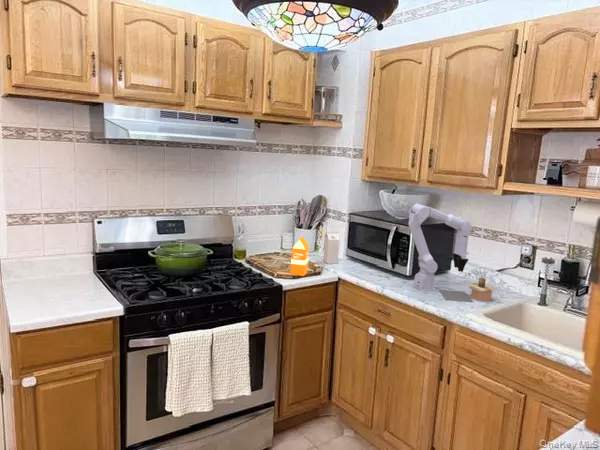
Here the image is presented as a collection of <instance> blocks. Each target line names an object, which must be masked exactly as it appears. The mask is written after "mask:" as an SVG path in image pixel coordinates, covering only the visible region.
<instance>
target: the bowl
mask: <svg viewBox="0 0 600 450" xmlns="http://www.w3.org/2000/svg"><path fill="white" fill-rule="evenodd" d="M470 296H471V297H470V298H472V299H473V300H477V301H481V302H490V301H491V300H492V296H493V292H479V291H475V290H472V289H471V293H470Z"/></svg>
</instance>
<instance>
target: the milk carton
mask: <svg viewBox="0 0 600 450" xmlns="http://www.w3.org/2000/svg"><path fill="white" fill-rule="evenodd" d="M340 240H341V239H340V236H339V232H338V231H327V232H326V234H325V236H324V247H323V262H324V263H326V264H329V265H330V264H331V265H333V264H334V265H336V264H337V265H338V264H339V255H340V254H339V253H340V252H339V251H340Z"/></svg>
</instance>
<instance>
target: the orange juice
mask: <svg viewBox="0 0 600 450" xmlns="http://www.w3.org/2000/svg"><path fill="white" fill-rule="evenodd" d="M309 253H310V245H309V243H307V241H306V239H305V237H304V236H303V235H302V236H301V237H300V238H299V239H298V240H297V241H296V243H294V245H293V247H292V248H291V259H290V275H291V274H293V276H300V277H304V276H306V275H307V273H308V272H307V271H308V268H309Z"/></svg>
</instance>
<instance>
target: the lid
mask: <svg viewBox="0 0 600 450" xmlns="http://www.w3.org/2000/svg"><path fill="white" fill-rule="evenodd" d="M486 280H487V279H486V278H484V277H479V278H478V282H475V283H470V284H469V286H468V288H469V289H470V290H471V291H472V290H475V291H479V292H492V293H493V292H494V290H495V289H494V287H493V286H491V285H489V284H486Z"/></svg>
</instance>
